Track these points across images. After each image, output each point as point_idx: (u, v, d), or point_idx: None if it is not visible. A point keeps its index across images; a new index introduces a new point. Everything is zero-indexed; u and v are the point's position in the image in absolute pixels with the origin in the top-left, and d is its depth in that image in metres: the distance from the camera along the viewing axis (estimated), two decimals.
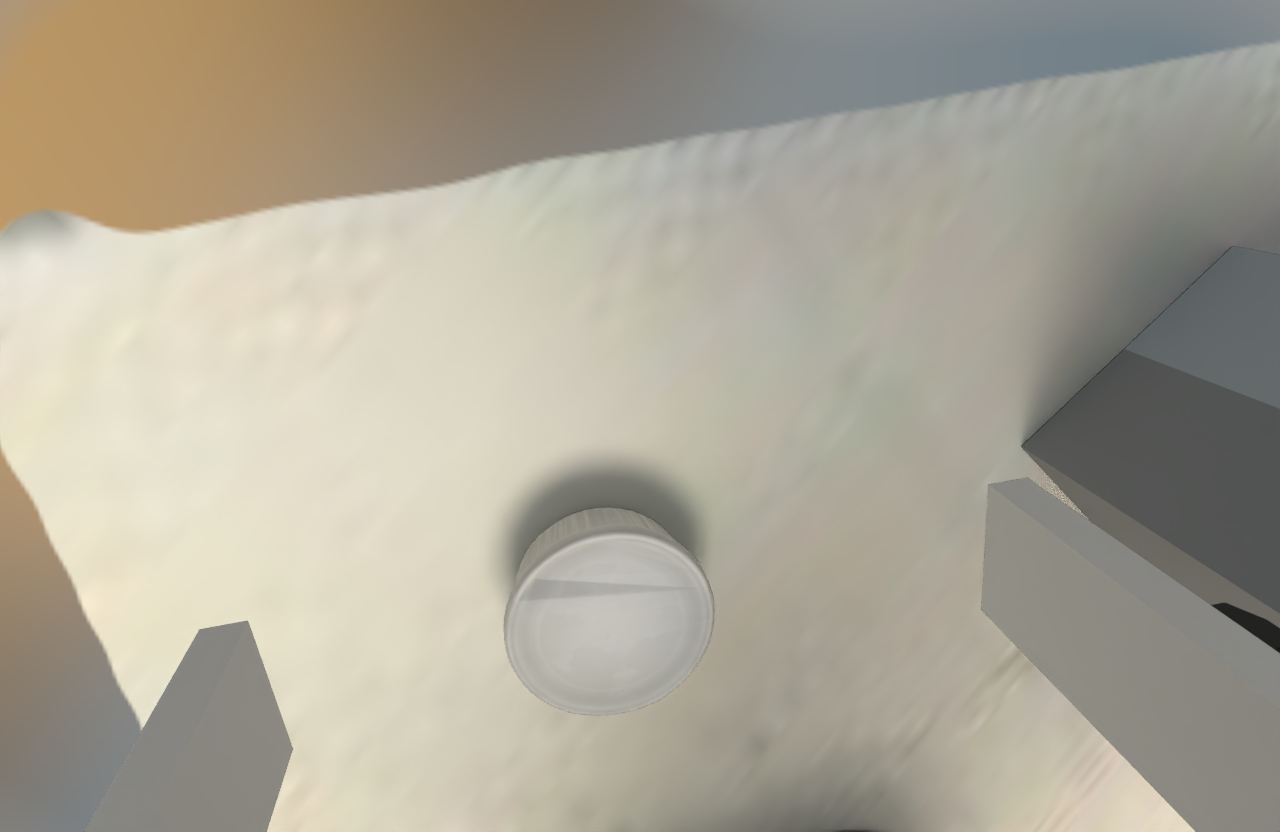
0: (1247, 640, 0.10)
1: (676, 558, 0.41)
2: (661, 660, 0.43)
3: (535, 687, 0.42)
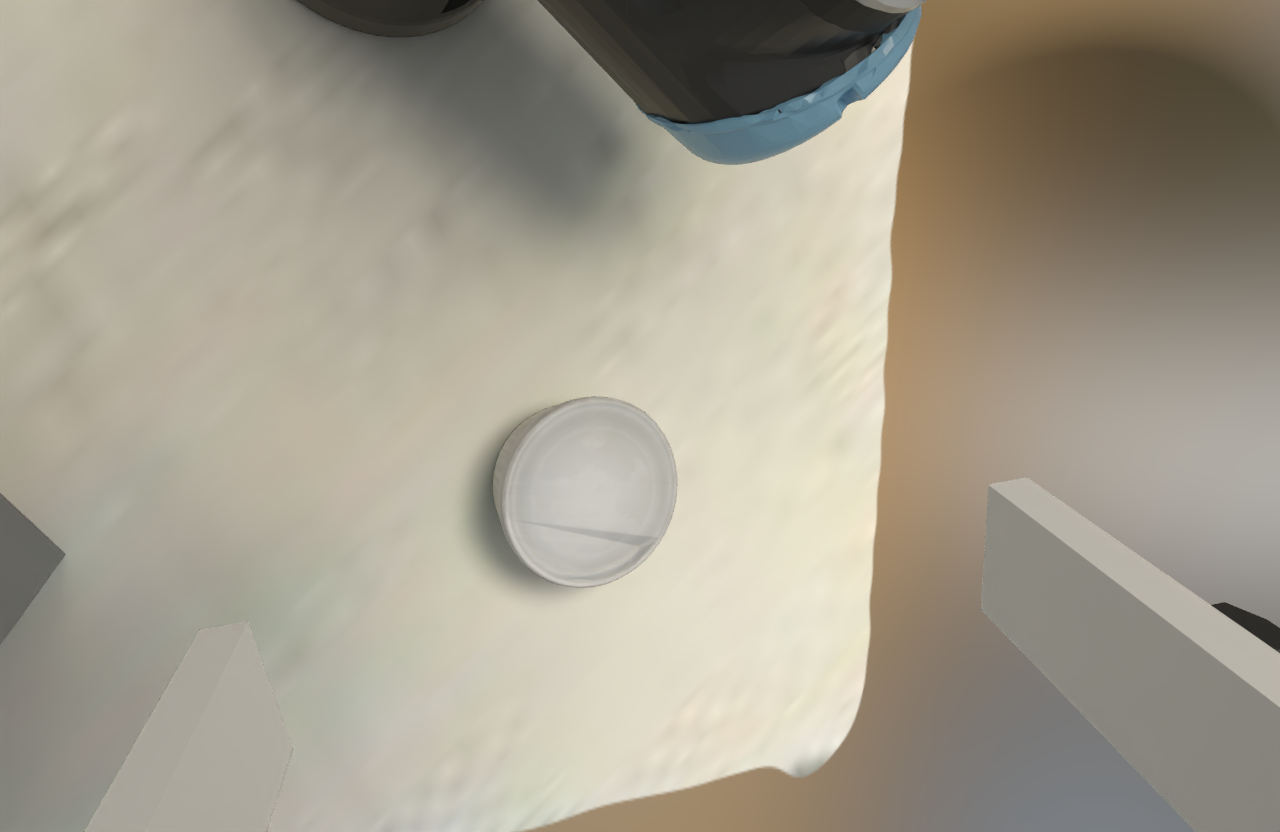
0: (1247, 640, 0.10)
1: (528, 554, 0.45)
2: (559, 450, 0.45)
3: (665, 449, 0.48)
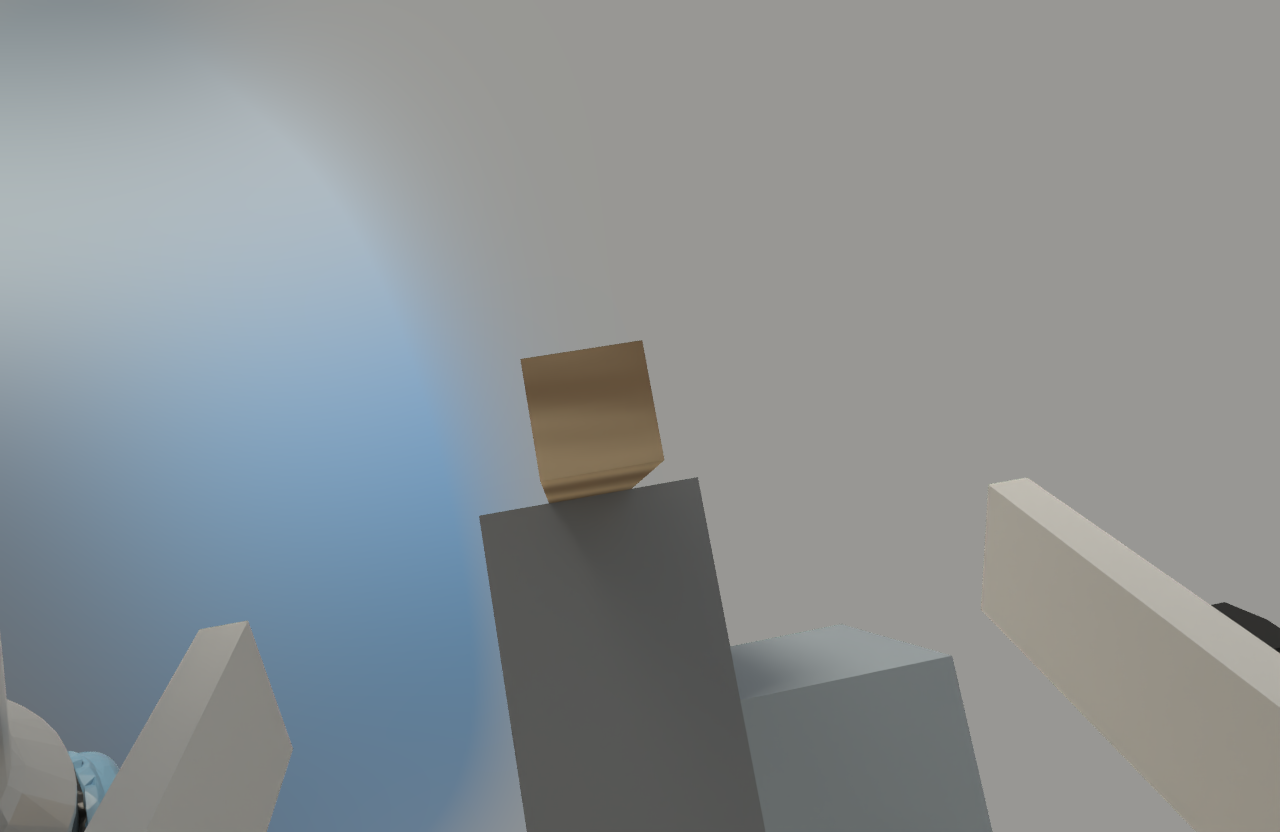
0: (1247, 640, 0.10)
1: None
2: None
3: None
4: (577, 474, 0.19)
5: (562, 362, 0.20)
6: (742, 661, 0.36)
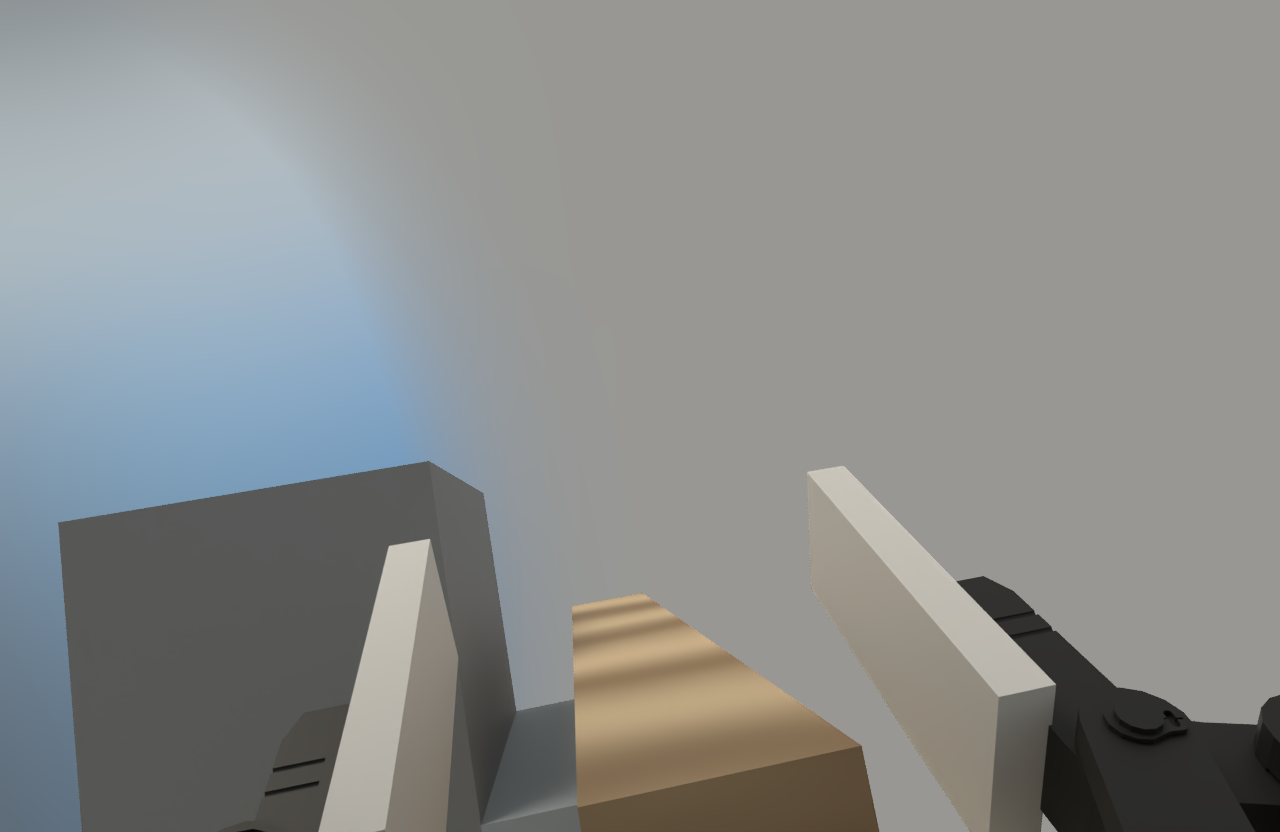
0: (968, 606, 0.11)
1: None
2: None
3: None
4: None
5: (677, 811, 0.08)
6: (562, 731, 0.25)
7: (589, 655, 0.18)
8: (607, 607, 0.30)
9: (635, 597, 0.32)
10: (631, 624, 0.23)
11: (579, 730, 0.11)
